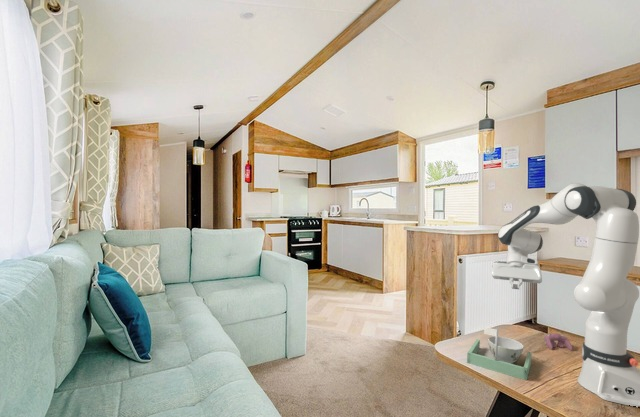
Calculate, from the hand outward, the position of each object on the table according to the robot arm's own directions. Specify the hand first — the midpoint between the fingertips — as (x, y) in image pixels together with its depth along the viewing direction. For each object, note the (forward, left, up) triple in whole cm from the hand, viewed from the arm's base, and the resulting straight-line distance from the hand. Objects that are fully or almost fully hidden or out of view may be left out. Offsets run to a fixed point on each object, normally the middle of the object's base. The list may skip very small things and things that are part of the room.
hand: (515, 288), depth 148 cm
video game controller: (-16, -7, -26) cm, 31 cm away
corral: (+2, +25, -25) cm, 36 cm away
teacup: (+2, +22, -26) cm, 34 cm away
